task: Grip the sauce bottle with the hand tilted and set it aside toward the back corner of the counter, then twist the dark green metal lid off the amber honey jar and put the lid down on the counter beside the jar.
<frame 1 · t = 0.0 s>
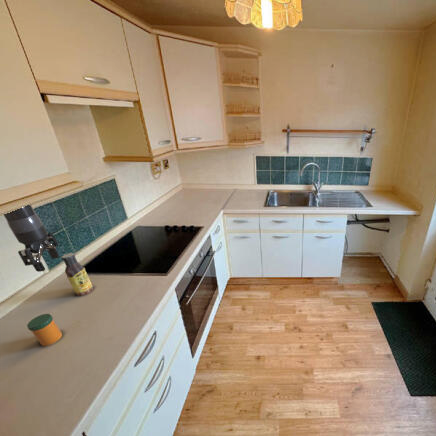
hand: (49, 264, 89), 22 cm above the counter, tool pointing down, fingers open, 8 cm apart
sauce bottle: (85, 291, 106), on the counter
lid: (39, 321, 79), point 9 cm above the counter, screwed on, not yet turned
honey jar: (52, 339, 84), on the counter
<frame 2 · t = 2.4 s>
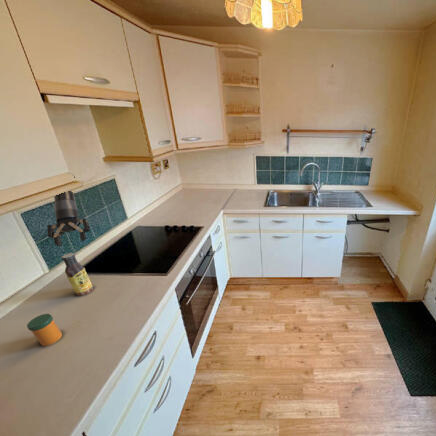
hand: (71, 243, 104), 21 cm above the counter, tool tilted 45°, fingers open, 8 cm apart
nothing on the counter moved.
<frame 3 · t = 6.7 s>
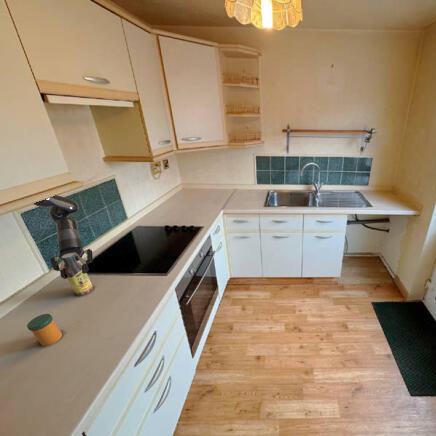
hand: (75, 275, 100), 10 cm above the counter, tool tilted 45°, fingers closed on sauce bottle, 6 cm apart
sauce bottle: (85, 291, 106), on the counter, touching gripper
everything else where it was.
when the fingers open (10 cm above the counter, at t = 14.0 s): sauce bottle stays where it is, on the counter.
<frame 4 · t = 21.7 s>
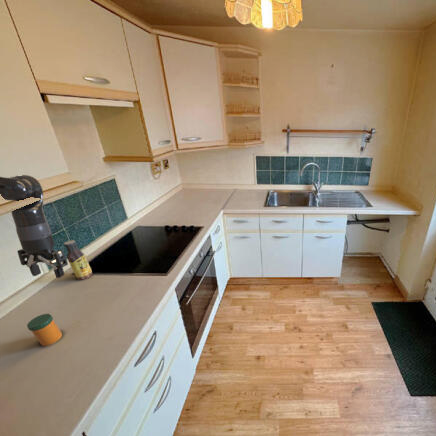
hand: (48, 275, 83), 22 cm above the counter, tool pointing down, fingers open, 8 cm apart
sauce bottle: (85, 276, 115), on the counter
everything else where it was.
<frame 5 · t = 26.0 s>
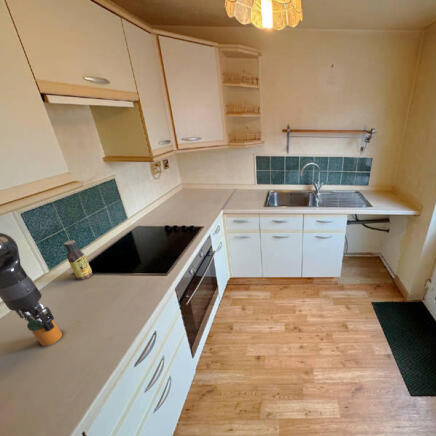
hand: (43, 327, 81), 6 cm above the counter, tool pointing down, fingers closed on lid, 5 cm apart
lid: (39, 321, 79), point 9 cm above the counter, screwed on, not yet turned, touching gripper
everything else where it was.
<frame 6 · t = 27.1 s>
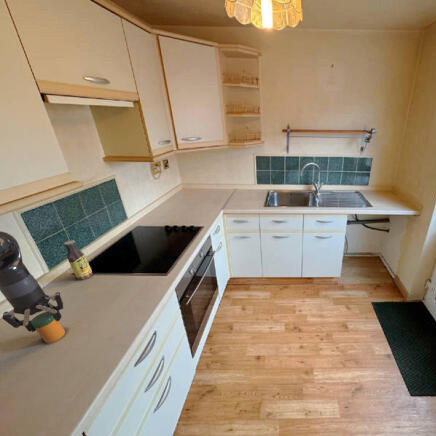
hand: (46, 324, 82), 6 cm above the counter, tool pointing down, fingers closed on lid, 5 cm apart
lid: (42, 318, 80), point 10 cm above the counter, turned 49° so far, risen 0.1 cm, still on its thread, touching gripper
honey jar: (55, 336, 85), on the counter
everything else where it was.
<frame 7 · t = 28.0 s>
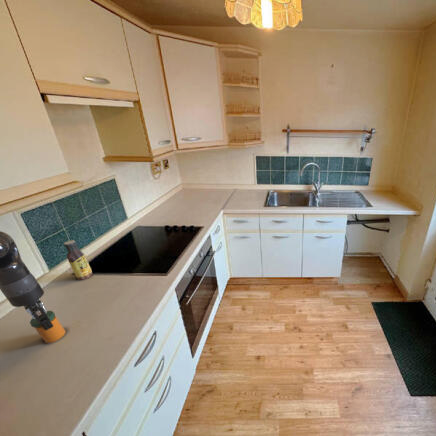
hand: (46, 323, 82), 7 cm above the counter, tool pointing down, fingers closed on lid, 5 cm apart
lid: (42, 317, 80), point 10 cm above the counter, off its thread, touching gripper
honey jar: (55, 336, 85), on the counter, touching gripper
everything else where it was.
when the fingers open (0 cm above the counter, at t = 35.9 s): lid drops 1 cm, point 1 cm above the counter.
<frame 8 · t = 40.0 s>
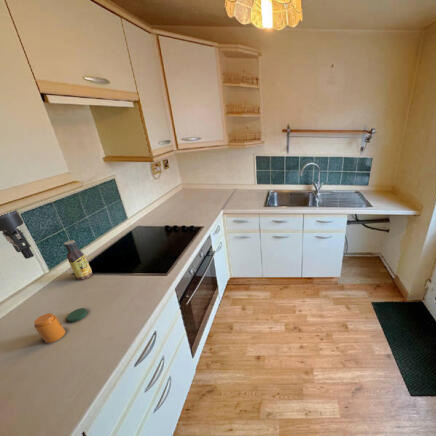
hand: (25, 254, 84), 28 cm above the counter, tool pointing down, fingers open, 8 cm apart
lid: (76, 314, 92), point 1 cm above the counter, off its thread
honey jar: (55, 336, 85), on the counter
everything else where it was.
at the end: sauce bottle inside the target area (0.2 cm from its centre), on the counter; lid point 1.3 cm above the counter; the gripper is holding nothing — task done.
